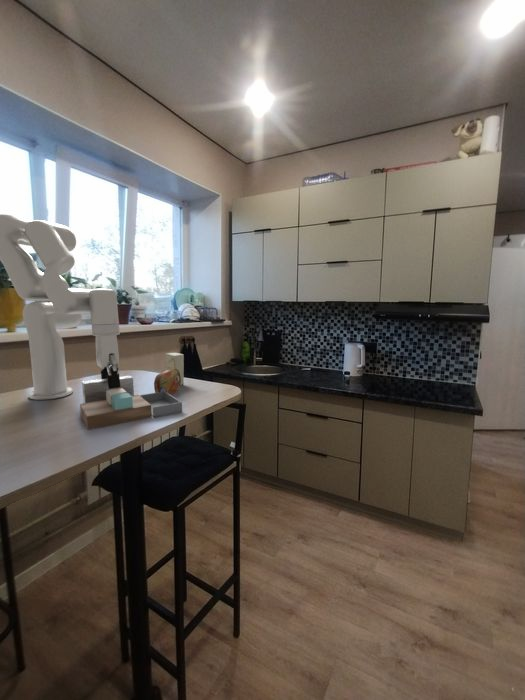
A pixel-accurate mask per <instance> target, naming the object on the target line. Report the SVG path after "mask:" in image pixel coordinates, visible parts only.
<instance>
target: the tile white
mask: <svg viewBox="0 0 525 700" xmlns="http://www.w3.org/2000/svg"><path fill="white" fill-rule="evenodd" d="M124 393H127V392H126V391H125V390H124V389H123V388H120V389H113V390H106V398H107V401H108V403H109V404H111V395H117V394H124Z"/></svg>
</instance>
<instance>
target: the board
mask: <svg viewBox="0 0 525 700" xmlns="http://www.w3.org/2000/svg"><path fill="white" fill-rule="evenodd" d="M140 395H141V394H134V395H133V396H132V400H133V407H132V408H127V409H121V410H114V408H113V407H112V406H111V404H109V403H108V401H107V400H102V401H95V402H89V403H84V402H83V403H82V402H81V403H79V407H80V408H79V409H80V411H79V412H80V417H81V419H82V421H83V422H84V424H85V426H86V429H87V430H88V431H89V430H95V429H98V428H104V427H108V426H112V425H118V424H123V423H128V422H133V421H138V420H142V419H143V420H144V419H148V418H153V417H152V414H151V404H149V403H148V402H147V401H146V400H144V399H143V398H142V397H141V396H140Z"/></svg>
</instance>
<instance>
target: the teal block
mask: <svg viewBox="0 0 525 700" xmlns="http://www.w3.org/2000/svg"><path fill="white" fill-rule="evenodd" d="M111 406H112V407H113V408H114V410H121V409H127V408H132V407H133V400H132V396H131V395H130V394H129V393H124V394H117V395H111Z"/></svg>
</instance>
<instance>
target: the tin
mask: <svg viewBox="0 0 525 700" xmlns="http://www.w3.org/2000/svg"><path fill="white" fill-rule="evenodd" d="M180 383H181V376H180V373H179V371H178V370H177V369H169V370H166V369H165V371H162V372H160V373H158V374H157V375H156V376H155V378H154V382H153V387H154V393H156V392H163V391H165V392H167V393H169V394H170V395H172V396H173V393H174V394H175V393H177V392H178V391H179V389H180V386H181V385H180ZM176 391H177V392H176Z"/></svg>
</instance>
